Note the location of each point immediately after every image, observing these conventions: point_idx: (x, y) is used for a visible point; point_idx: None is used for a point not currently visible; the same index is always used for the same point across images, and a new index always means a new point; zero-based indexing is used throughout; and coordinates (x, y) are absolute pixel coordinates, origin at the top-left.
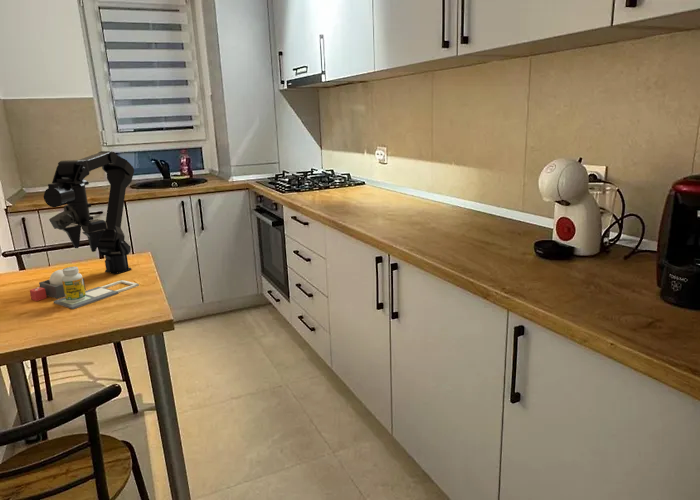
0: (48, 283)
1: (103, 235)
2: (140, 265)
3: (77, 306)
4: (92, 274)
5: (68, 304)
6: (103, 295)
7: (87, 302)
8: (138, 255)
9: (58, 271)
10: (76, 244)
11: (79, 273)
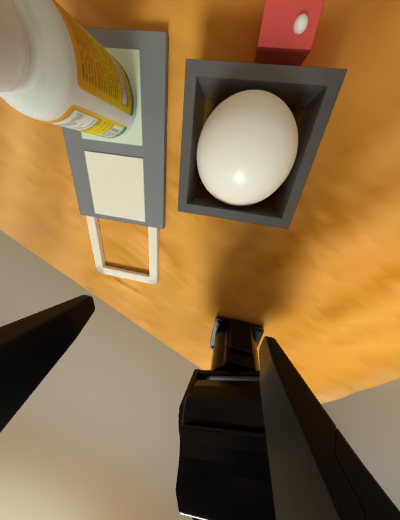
0: (309, 126)
1: (236, 469)
2: None
3: None
4: (284, 308)
5: None
6: (80, 174)
7: None
8: None
9: (238, 134)
10: (266, 366)
11: (14, 102)
